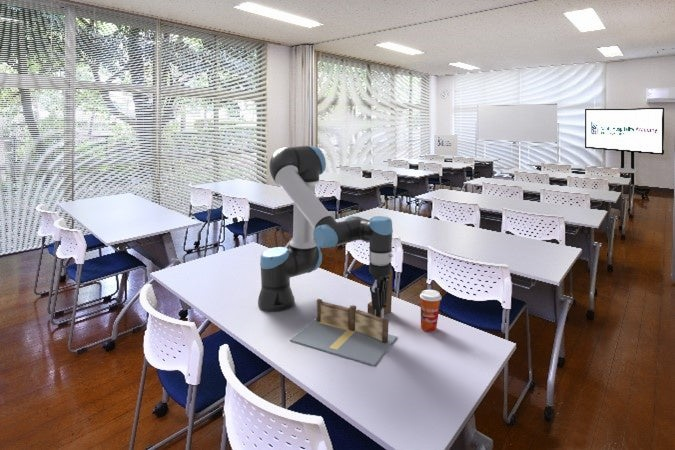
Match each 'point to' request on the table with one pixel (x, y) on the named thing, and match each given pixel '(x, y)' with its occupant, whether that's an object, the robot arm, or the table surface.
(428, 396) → the table surface
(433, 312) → the paper cup
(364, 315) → the fence gate
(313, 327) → the card
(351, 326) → the fence fixed
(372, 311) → the wooden block
